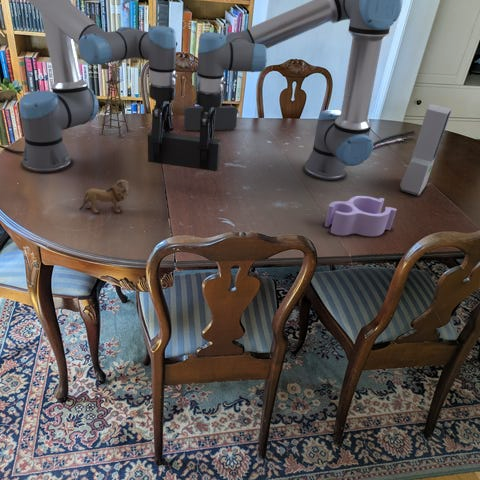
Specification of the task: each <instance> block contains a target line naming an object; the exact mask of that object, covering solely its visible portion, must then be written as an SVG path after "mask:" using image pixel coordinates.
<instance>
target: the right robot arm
mask: <svg viewBox="0 0 480 480" xmlns="http://www.w3.org/2000/svg"><path fill="white" fill-rule="evenodd" d="M402 7H403V1H402V0H311V1H308V2H306V3H303V4H301V5H299V6H296V7H295V8H291V9H290V10H287V11H285V12H282V13H280V14H278V15H276V16H274V17H271V18H269V19H266V20H264V21H262V22H259V23H258V24H256V25H252V26H251V27H248V28H246V29H243V30H241V31H239V32H236V31H231V32H228V33H227V34H223V33H219V32H210V31H209V32H203V33H200V35H199V37H198V47H197V71H196V72H197V73H196V90H197V91H196V93H195V94H196V96H195V98H196V99H195V102H196V103H195V104H196V105H197V106H202V107H203V110H202V111H201V118H200V130H199V136H200V144H199V147H198V149H200V168H201V169H200V170H203V169H209V151H210V149H209V141H210V138H214V139H215V130H214V126H215V115H216V107H219V106H222V104H223V93H222V92H223V86H224V85H225V84H226V81H225V80H224V76H225V71H227V72H245V73H247V72H248V73H250V72H251V73H261V72H263V71H265V69H266V67H267V64H268V49H269V48H272V47H274V46H276V45H279V44H281V43H283V42H285V41H288V40H290V39H293V38H295V37H297V36H300V35H302V34H305V33H308V32H309V31H312V30H314V29H316V28H318V27H321V26H323V25H326V24H328V23H331V24H337V23H339V22H342V21H346V20H348V21H349V24H348V33H349V34H350V36H351V37H352V39H351V44H350V51H349V58H348V66H347V70H346V71H347V72H346V78H345V84H344V92H343V98H342V104H341V110H337V109H325V110H322V111H320V113H319V115H318V119H317V124H316V129H315V136H314V142H313V146H312V151H311V152H310V155H309V157H308V159H307V160H306V161H305V163H304V169H303V170H304V172H305V173H306V174H307V175H309V176H310V177H312V178H315V179H317V180H322V181H339V180H342V179H343V178H344V177H345V176H346V170H347V168H346V166H348V167H355V166H359V165H362V164H364V162H365V161H367V160H368V159H369V158H370V156H371V155H372V153H373V152H374V151H373V150H374V148H373V146H374V145H377V144H380V143H382V142H383V141H384V142H385V141H387V140H389V139H393V138H396V137H400V136H403V135H404V136H405V135H408V134H412V133H414V132H415V130H414V131H411V130H410V131H411V132H408V131H406V132H407V133H404V132H400V133H397V134H396V133H395V134H392V135H389V136H386V137H383V138H381V139H378V140H376V141H374V142H373V140H372V138H371V136H370V133H371V128H372V123H371V122H370V120H369V113H370V106H371V102H372V96H373V91H374V85H375V80H376V75H377V69H378V64H379V59H380V54H381V48H382V45H383V44H382V43H383V40H384V39H386V37H387V36H389V34H390V29H391V27H392V26H393V25H394V23H395V22H396V21H397V20H398V18H399V17H400V14H401V12H402ZM402 133H403V134H402Z"/></svg>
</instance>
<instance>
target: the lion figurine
mask: <svg viewBox="0 0 480 480" xmlns="http://www.w3.org/2000/svg"><path fill="white" fill-rule="evenodd" d="M130 187H131V186H130V181H128V180H125V179H119V180H118V181H116V183H115V184H113V185H112V186H110V187H109V188H108V189H99V188H94V187H93V188H90V189H88V190H86V191H85V193H84V196H83V201H82V205H81V206H80V207H79V209H78V210H79V211H82V210H83V209H84V208H86V209H89V208H91V210H92V212H93V213H95V214H97V213H99V210H98V209H96V208H95V205H96V203H97V200H98V201H100V202H102V203H112V204H111V206H112V208H114V212H116V213H120V211H121V210H120V209H119V202H123V201H124V200H125V199H126V197H127V196H128V195H129V194H130V191H131V189H130ZM89 203H90V205H89Z"/></svg>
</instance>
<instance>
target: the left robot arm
mask: <svg viewBox="0 0 480 480" xmlns="http://www.w3.org/2000/svg"><path fill="white" fill-rule="evenodd" d="M26 1H27V2H28V3H29V4H30V5H31V6H33V7H34V8H35V9H36V10H38V11H39V13H40V17H41V23H42V26H43V31H44V35H45V40H46V45H47V50H48V55H49V59H50V63H51V64H50V65H51V67H52V68H51V69H52V73H53V77H54V82H53V84H52V85H51V90H52V91H51V90H40V91H39V90H36V91H31V92H28V93H26V94H24V95H22V97H21V98H20V99H19V103H18V104H19V116H20V119H21V125H22V132H23V137H24V148H23V150H14V149H12V148H9V147H8V146H7V147H6V146H4V145H2V144H1V145H0V148H1V149H4V150H6V151H8V152H11V153H15V154H22V158H21V159H22V160H21V161H22V166H23V168H24V169H25V170H27V171H29V172H33V173H39V174H46V173H56V172H61V171H63V170H66V169H67V168H69V167H70V166H71V163H72V159H71V155H70V153H69V151H68V150H67V149H68V148H67V147H66V145H65V143H64V140H63V131H65V130H69V129H71V128H75V127H77V126H80V125H81V126H82V125H85V124H87V123H90V122H92V121H93V120H95V118H96V117H97V115H98V112H99V99H98V97H97V95H96V94H95V91H93V89H91V88H89V85H88V82H86V81H85V80H84V79H83V77H82V73H81V68H80V61H79V57H78V53H79V55H80V56H81V59H82V61H84V63H86V64H87V65H91V66H96V65H99V66H101V64H110V62H111V63H112V62H116V61H117V62H120V61H124V60H130V59H141V60H144V61H148V83H149V86H148V87H149V88H148V90H149V91H148V93H149V95H148V96H149V98H150V99H151V100H153V101H155V104H154V107H153V108H152V110H151V130H152V132H151V140H150V143H153V162H154V163H153V164H160V163H161V164H160V165H163V164H162V163H163V143H162V134H163V132H170V133H172V132H174V127H173V125H174V124H173V105H172V104H173V100H175V98H176V86H175V85H176V79H178V75H177V74H176V57H177V35H176V33H177V32H176V30H175V29H174V28H172V27H170V26H163V25H152V26H150V27H149V28H148V31H146V30H141V29H137V28H134V27H132V26H120V27H118V29H116V30H114V31H106V30H104V29H103V27H100V25H98V24H97V23H95V21H93V19H91V18H90V17H89V16H88V15H86V14H85V13H84V12H83V11H82V10H81V9H79V8H78V7H77V6H76V5H75V4H73V2H71V1H70V0H26ZM76 45H77V47H76ZM77 49H78V51H77Z"/></svg>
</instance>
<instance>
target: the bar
mask: <svg viewBox="0 0 480 480" xmlns="http://www.w3.org/2000/svg"><path fill="white" fill-rule="evenodd" d="M151 132H152V129H151V130H150V131H149V133H148V134H147V163H153V164H155V163H154V162H153V143H150V140H151ZM170 132H171V131H170ZM170 132H163V134H162V143H163V163H162V164H161V163H159V164H160V165H167V166H174V167H182V168H189V169H196V170H203V171H210V172H211V171H212V172H217V171H218V169H219V167H220V157H221V143H222V139H221V138H215V137H214V138H210V141H209V149H210V151H209V169H201V168H200V149H198V147H199V144H200V135H199V136H198V135H190V134H183V133H178V132H177V133H176V132H171V133H170Z"/></svg>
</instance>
